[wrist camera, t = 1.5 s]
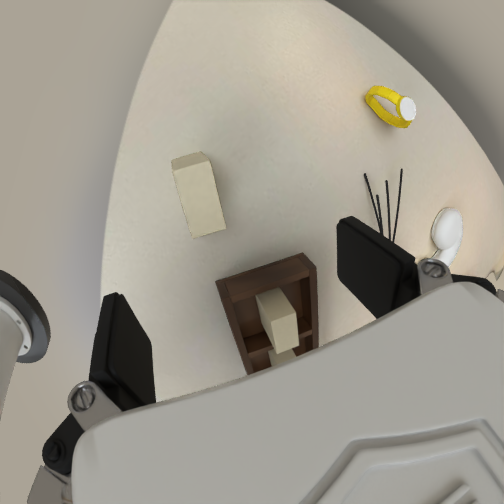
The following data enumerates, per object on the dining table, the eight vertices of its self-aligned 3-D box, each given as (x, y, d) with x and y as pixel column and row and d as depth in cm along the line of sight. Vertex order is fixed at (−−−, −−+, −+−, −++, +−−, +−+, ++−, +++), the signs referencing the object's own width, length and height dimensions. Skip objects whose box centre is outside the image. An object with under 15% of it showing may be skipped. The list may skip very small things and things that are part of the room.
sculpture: (461, 223, 44) (489, 240, 37) (425, 283, 48) (450, 305, 41) (442, 195, 38) (477, 212, 31) (401, 267, 42) (431, 291, 36)
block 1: (261, 323, 37) (276, 354, 32) (254, 290, 34) (270, 321, 29) (281, 315, 37) (299, 345, 32) (276, 282, 34) (296, 312, 29)
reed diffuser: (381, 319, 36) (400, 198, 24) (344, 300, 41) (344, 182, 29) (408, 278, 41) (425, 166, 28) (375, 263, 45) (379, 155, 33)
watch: (392, 114, 28) (426, 120, 23) (382, 129, 29) (416, 136, 24) (365, 82, 26) (400, 81, 21) (354, 97, 26) (389, 98, 21)
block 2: (271, 364, 42) (284, 392, 37) (266, 342, 39) (280, 372, 34) (288, 358, 43) (302, 385, 38) (284, 335, 40) (300, 364, 35)
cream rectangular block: (186, 215, 27) (192, 239, 22) (171, 159, 24) (172, 171, 19) (214, 206, 28) (226, 228, 23) (200, 151, 25) (210, 160, 20)
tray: (258, 403, 49) (264, 417, 46) (215, 281, 32) (221, 299, 29) (310, 383, 51) (317, 396, 48) (302, 252, 34) (316, 266, 31)
